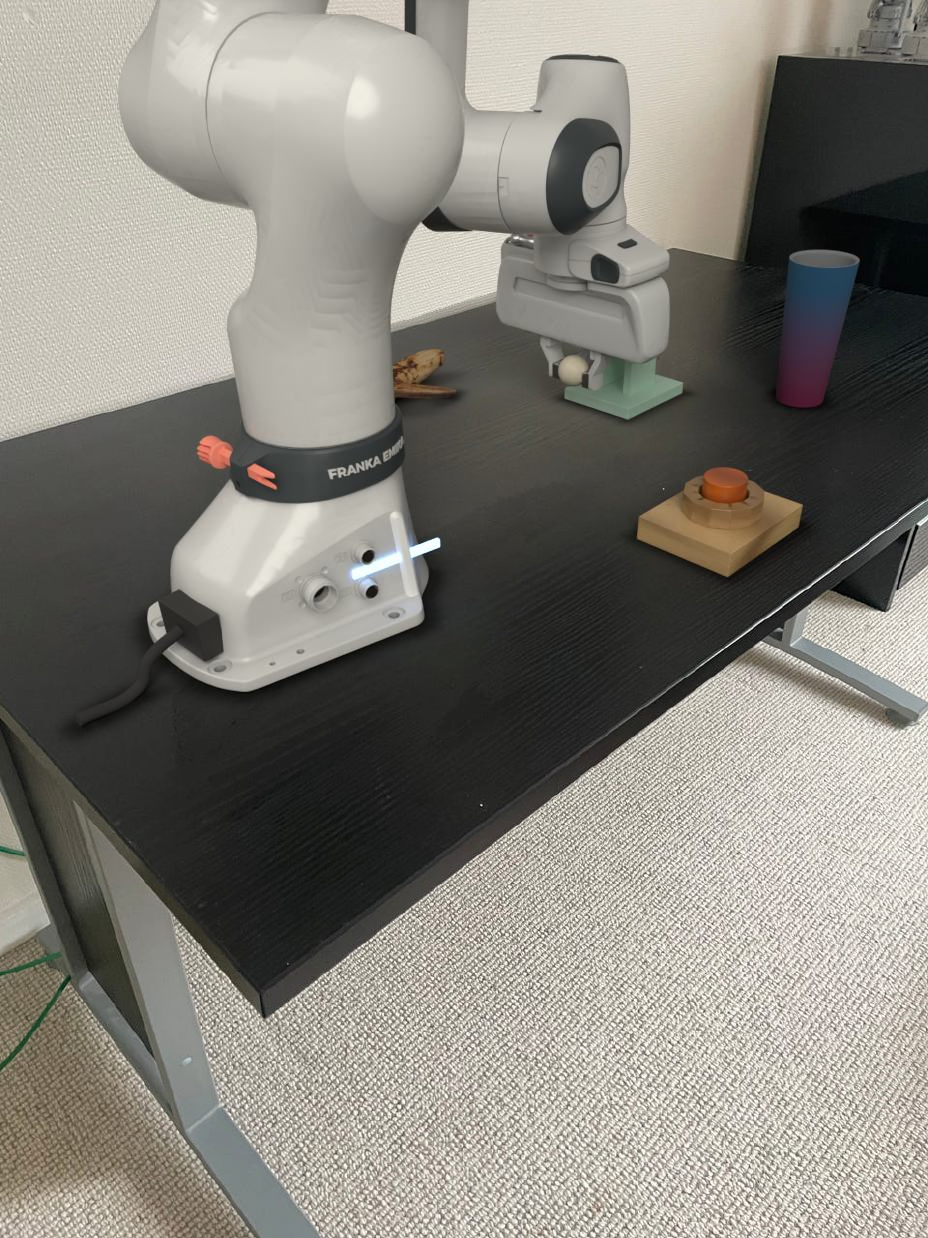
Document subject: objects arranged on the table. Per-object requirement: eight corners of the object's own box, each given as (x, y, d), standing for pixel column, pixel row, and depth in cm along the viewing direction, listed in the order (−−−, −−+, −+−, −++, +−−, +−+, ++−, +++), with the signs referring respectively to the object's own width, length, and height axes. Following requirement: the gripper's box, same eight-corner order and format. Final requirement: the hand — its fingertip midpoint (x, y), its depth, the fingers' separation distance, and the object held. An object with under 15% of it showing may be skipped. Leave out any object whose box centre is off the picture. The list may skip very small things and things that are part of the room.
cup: (834, 412, 101) (864, 267, 93) (768, 409, 103) (791, 266, 94) (828, 388, 107) (855, 249, 98) (765, 385, 108) (786, 248, 99)
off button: (729, 510, 77) (732, 490, 76) (692, 496, 79) (695, 477, 78) (753, 494, 79) (757, 475, 78) (717, 481, 81) (719, 462, 80)
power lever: (580, 395, 99) (572, 373, 96) (557, 388, 101) (548, 366, 98) (652, 312, 102) (646, 288, 99) (628, 307, 104) (621, 283, 101)
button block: (727, 577, 76) (734, 534, 73) (636, 538, 81) (640, 497, 79) (798, 527, 82) (806, 485, 79) (709, 494, 87) (715, 454, 85)
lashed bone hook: (386, 439, 100) (483, 381, 112) (383, 397, 98) (483, 343, 109) (321, 418, 105) (421, 364, 116) (316, 377, 102) (419, 326, 113)
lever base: (627, 420, 101) (635, 309, 95) (564, 398, 107) (567, 292, 100) (682, 393, 107) (693, 286, 100) (619, 374, 112) (625, 272, 106)
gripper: (480, 236, 96) (484, 367, 104) (642, 272, 84) (633, 417, 92) (522, 223, 100) (523, 351, 108) (684, 256, 87) (672, 397, 96)
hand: (575, 382), depth 100 cm, fingers closed on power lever, 3 cm apart
